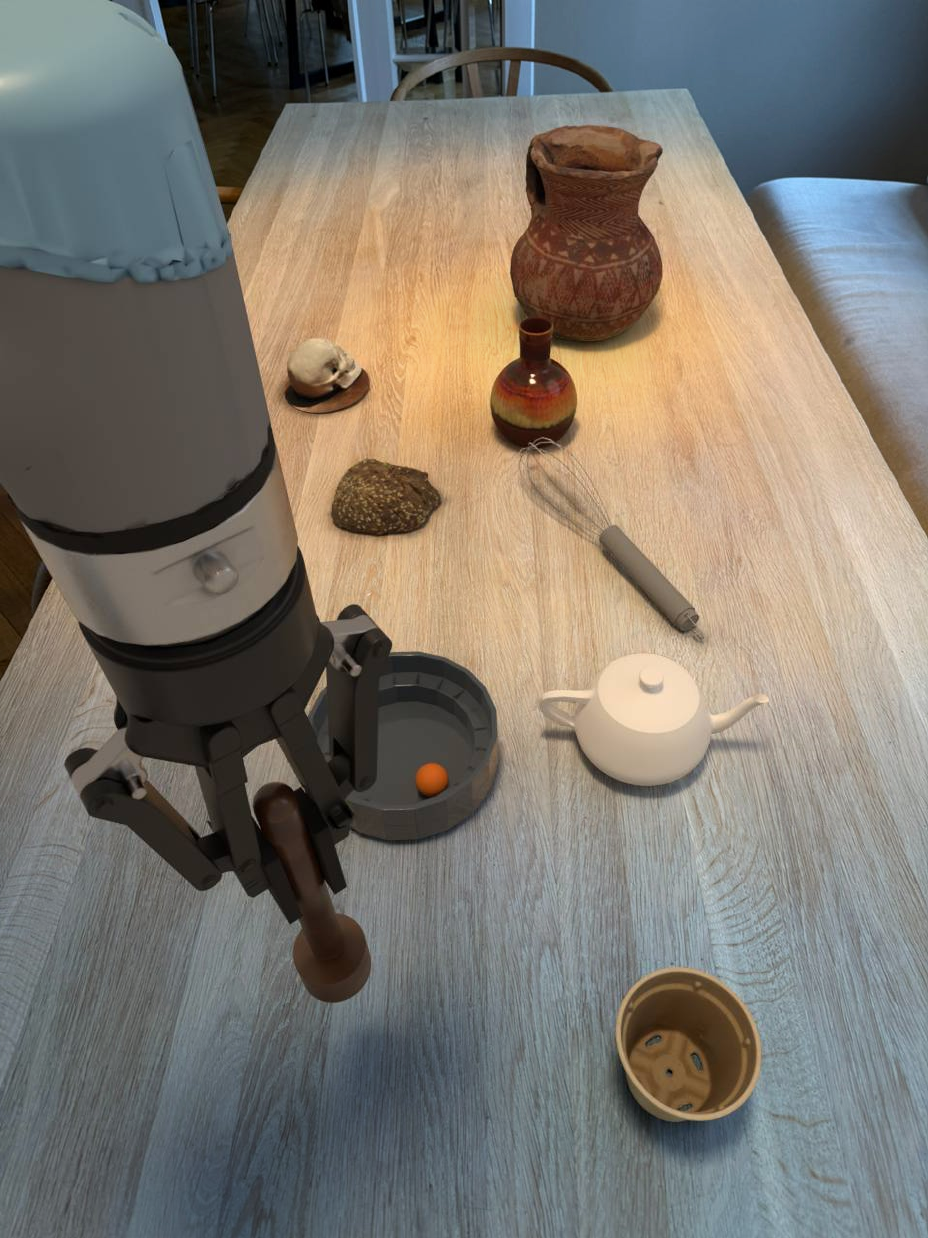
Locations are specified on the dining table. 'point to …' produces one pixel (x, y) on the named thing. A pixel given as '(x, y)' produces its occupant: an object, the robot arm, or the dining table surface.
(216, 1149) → the dining table surface
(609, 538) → the kitchen whisk
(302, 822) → the wooden pestle
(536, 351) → the vase
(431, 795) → the bead
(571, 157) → the jug
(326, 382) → the skull
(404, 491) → the bread roll
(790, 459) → the dining table surface
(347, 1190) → the dining table surface
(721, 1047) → the flower pot
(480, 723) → the bowl
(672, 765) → the teapot
